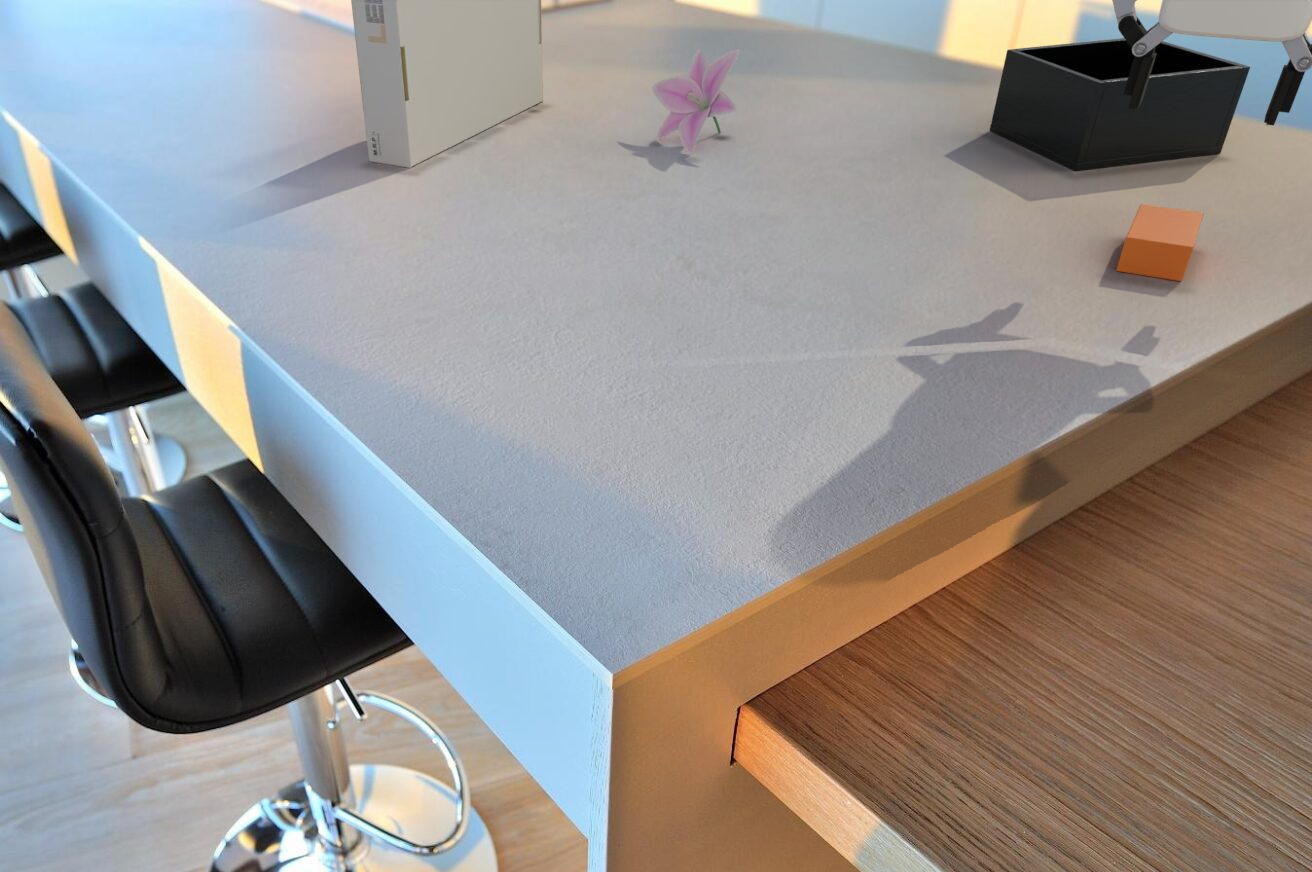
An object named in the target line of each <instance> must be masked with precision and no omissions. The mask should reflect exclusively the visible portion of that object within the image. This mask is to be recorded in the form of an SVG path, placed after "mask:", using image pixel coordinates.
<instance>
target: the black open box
mask: <svg viewBox="0 0 1312 872" xmlns="http://www.w3.org/2000/svg"><path fill="white" fill-rule="evenodd" d="M1154 53H1157V55H1156V58H1155V61H1154V64H1153V68H1152V71H1151V74H1150V77H1149V81H1148V84H1147V87H1146V90H1145V94H1144V97H1143V100H1142V102H1141V104H1140V106H1139V108H1136V109H1135V110H1131V109H1128V107H1129V104H1130V100H1131V97H1132V96H1127V95H1123V94H1124V90H1125V87H1126V83H1127V80H1128V77H1129V73H1130V70H1131V66H1132V63H1133V60H1134V56H1135V55H1133V53H1132V49H1131V47H1130V46H1129V44H1128V43H1127V41H1126V40H1125V38H1124V37H1122V38H1111V39H1101V40H1092V41H1091V40H1090V41H1084V42H1083V41H1082V42H1081V41H1080V42H1070V43H1062V44H1051V45H1041V46H1031V47H1021V48H1020V47H1019V48H1012V49H1007V50H1006V55H1005V59H1004V63H1003V68H1002V73H1001V77H1000V83H999V86H998V91H997V95H996V100H995V103H994V104H995V106H994V109H993V114H992V117H991V123H990V127H989V131H990V132H992V133H994V134H996V135H998V136H999V137H1003V138H1004V139H1006V140H1008V141H1011V142H1013V143H1015V144H1017V145H1020V146H1021V147H1023V148H1025V149H1028V150H1030V151H1032V152H1034V153H1036V154H1038V155H1040V156H1042V157H1045V158H1047V159H1049V160H1051V161H1053V162H1055V163H1057V164H1059V165H1062V166H1064V167H1066V168H1068V169H1070V170H1072V171H1075V172H1078V171H1086V170H1095V169H1102V168H1109V167H1120V166H1121V167H1122V166H1128V165H1136V164H1143V163H1144V164H1145V163H1153V162H1160V161H1161V162H1162V161H1171V160H1177V159H1178V160H1179V159H1185V158H1194V157H1203V156H1210V155H1211V156H1212V155H1221V153H1222V150H1223V147H1224V144H1225V141H1226V138H1227V136H1228V134H1229V130H1230V127H1231V125H1232V121H1233V119H1234V116H1235V113H1236V110H1237V107H1238V104H1239V101H1240V99H1241V95H1242V92H1243V90H1244V87H1245V83H1246V81H1247V77H1248V74H1249V72H1250V69H1251V66H1249V65H1247V64H1244V63H1243V64H1242V63H1239V62H1235V61H1232V60H1229V59H1225V58H1222V57H1218V56H1215V55H1212V54H1209V53H1204V52H1201V51H1198V50H1194V49H1191V48H1188V47H1185V46H1180V45H1177V44H1173V43H1170V42H1168V41H1165V40H1163V41H1162V42H1161V43H1159V44H1158V45H1157V46H1156V47H1155V52H1154Z"/></svg>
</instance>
